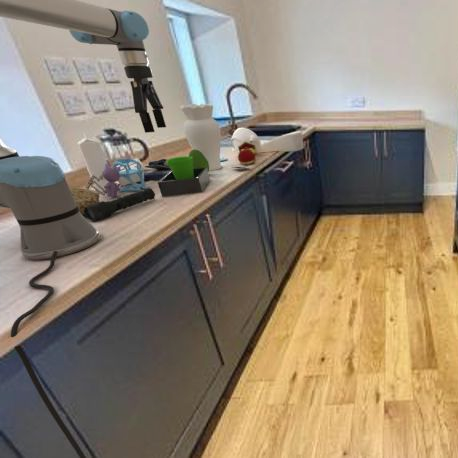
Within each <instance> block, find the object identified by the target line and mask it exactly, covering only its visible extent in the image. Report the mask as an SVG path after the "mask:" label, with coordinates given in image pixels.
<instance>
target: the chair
mask: <svg viewBox="0 0 458 458" xmlns="http://www.w3.org/2000/svg"><path fill="white" fill-rule="evenodd" d="M134 159H135V158H119V159H116V160H115V161H114V162H113V163H112V167H113V168H115V167H117V166H118V165H120V166H123V167H125V170H126V171H123V172H120V171H119V169H118V168H117V169H118V172H119V174H120V176H122V177H124V178H126V179H127V180H128V181H129V182H130V183H132V184H129V185H126V186H122V187H121V188H120V187H119V189H120V191H119V192H133V191H135V192H137V191H142V189H147V185H146V183H145V180H144V179H143V175H142V172H143V170H141V169H140V168H139V162H138V161H136V160H134ZM130 162H135V163H136V164H137V166H136V167H137V169H138V170H134V169H131V168H130V166H129V163H130ZM125 164H127V165H125ZM127 167H128V169H127ZM136 173H137V174H138V176H139V178H140V181H139V182H140V183H137V182H135V183H134V182H133V181H132V180H131V178H130V176H131V175H133V174H136Z"/></svg>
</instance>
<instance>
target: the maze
mask: <svg viewBox="0 0 458 458" xmlns="http://www.w3.org/2000/svg"><path fill="white" fill-rule="evenodd" d="M92 177H93V178H92ZM92 177H90V179H89V181H88V182H87V184H86V186H85V189H90V187H91V188H93V190H94V191H98V192H99V195H101V196H106V197H109V196H108V194H107V191H108V190H107V189H106V190H105V191H104V190H103V189H102V187H100V186H99V184H97V183H96V182H95V181H92V180H93V179H94V178H95V179H96V180H98V182H99V181H100V179H101V177H102V176H101V177H99V178H100V179H97V177H95V176H93V175H92ZM101 180H103V177H102V179H101ZM93 183H95V184H96V185H97V186H99V188H100V189H102V190H103V191H104V192H101V191H99V190H97V188H96V187H94V184H93Z"/></svg>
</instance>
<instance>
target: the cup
mask: <svg viewBox="0 0 458 458" xmlns="http://www.w3.org/2000/svg"><path fill="white" fill-rule="evenodd" d="M192 159H193V157H189V155H187V156H177V157H172V158H168V160H166V162H168V164H169V166H170V168H171V170H172V172H173V174H174V176H175V178H176V180H180V179H189V178H194V173H193V163H192Z"/></svg>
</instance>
